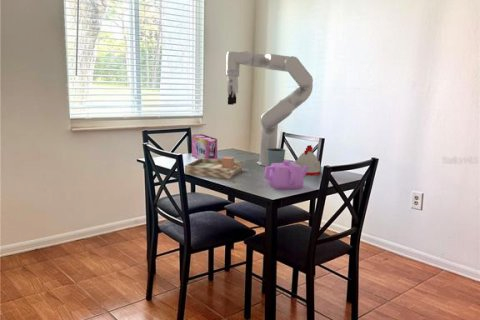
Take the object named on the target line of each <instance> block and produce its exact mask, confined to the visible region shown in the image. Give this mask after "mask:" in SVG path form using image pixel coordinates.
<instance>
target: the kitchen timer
mask: <svg viewBox="0 0 480 320" xmlns="http://www.w3.org/2000/svg"><path fill="white" fill-rule="evenodd" d="M312 151H313V147H312V145H306V148H305V150H304V152H302V153H301V154H300V155H299V157H298V158H297V159H295V162H294V163H295V164H298V165H300V166H301V167H302V169H303V168H304V167H305V166H307V167H309V169H308V171H307V172H306V174H305V176H309V177H310V176H318V175H319V176H320V174H321V161H320V160H319V159H318V158H317V156H316V155H315V154H314V152H312Z"/></svg>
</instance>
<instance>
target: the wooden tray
mask: <svg viewBox="0 0 480 320" xmlns="http://www.w3.org/2000/svg"><path fill="white" fill-rule="evenodd" d="M241 171H243V161H236V160H234V167H232V168H223V167H222V159H217V160H214V159H204V158H201V159H198V158H197V159H196V160H194V161H192V162H190V163H187V164H185V165H184V175H190V176H198V177H199V176H200V177H209V178H219V179H231V178H233V177H234V176H235V175H237V174H239V173H240V172H241Z"/></svg>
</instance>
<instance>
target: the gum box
mask: <svg viewBox="0 0 480 320" xmlns="http://www.w3.org/2000/svg"><path fill="white" fill-rule="evenodd" d="M191 156H192V157H194V158H196V159H197V160H198V159H201V158H204V159H214V160H218V138H216V137H213V136H209V135H206V134H201V133H200V134H192V135H191Z"/></svg>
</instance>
